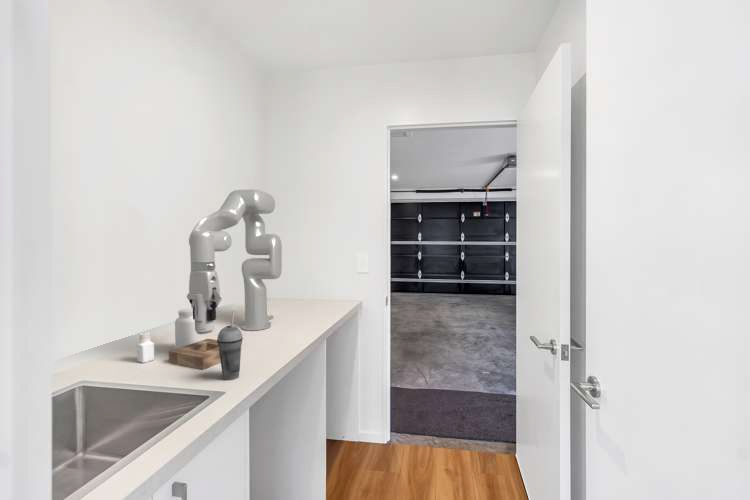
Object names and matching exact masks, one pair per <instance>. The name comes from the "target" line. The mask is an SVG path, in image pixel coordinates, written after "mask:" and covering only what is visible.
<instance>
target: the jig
mask: <svg viewBox="0 0 750 500" xmlns="http://www.w3.org/2000/svg"><path fill="white" fill-rule="evenodd" d="M168 362H169V364H174V365H178V366H183V367H188V368H192V369H198V370H202V371H203V370H205V369H206V370H207V369H209V368H211V367H213V366H216V365H218V364H221V360H220V352H219V347H218V342H217V339H214V338H206V339H201V340H199V342H196V343H192V344H189V345H186V346H183V347H180V348H177V349H176V348H174V349H171V350H168Z"/></svg>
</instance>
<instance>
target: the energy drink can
mask: <svg viewBox="0 0 750 500" xmlns="http://www.w3.org/2000/svg"><path fill="white" fill-rule="evenodd" d="M211 300H212V298H211ZM210 303H211V304H212V302H210ZM207 310H208V306H207V303H206V301H204V299H203V295H202V294H201V293H200V292H199V290H197V292H195V294H194V315H195V331H196V332H197V334H199V335H209V334H211V333H213V330H215V320H213V321H207Z"/></svg>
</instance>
